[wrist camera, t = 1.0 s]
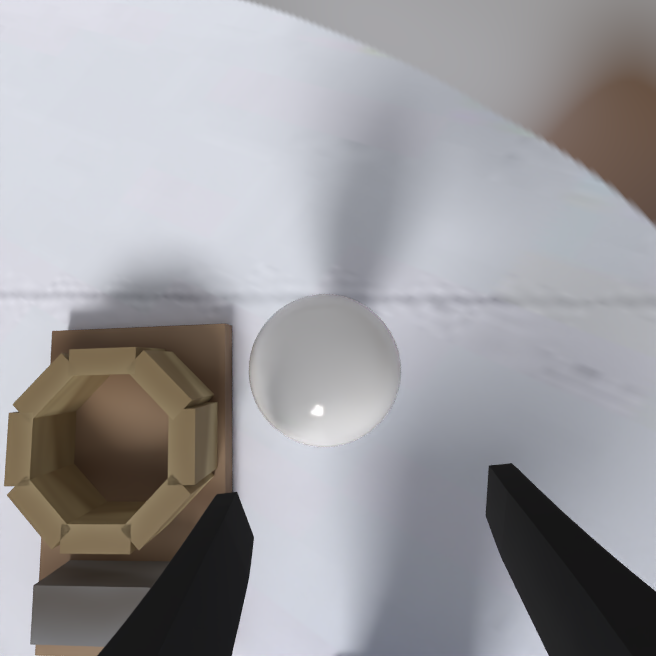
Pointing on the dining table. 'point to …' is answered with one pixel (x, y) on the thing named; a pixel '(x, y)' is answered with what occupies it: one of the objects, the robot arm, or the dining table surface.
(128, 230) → the dining table surface
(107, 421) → the jig
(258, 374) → the lightbulb
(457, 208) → the dining table surface
